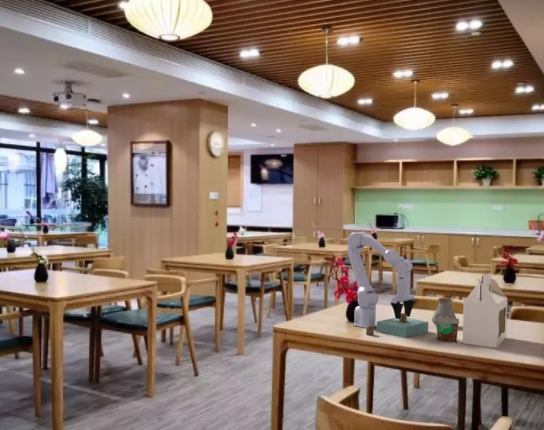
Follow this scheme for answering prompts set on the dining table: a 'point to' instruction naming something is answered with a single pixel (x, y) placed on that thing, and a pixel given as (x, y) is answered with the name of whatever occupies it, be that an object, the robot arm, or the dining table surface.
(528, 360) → the dining table surface
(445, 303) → the coffee pot
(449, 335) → the food container
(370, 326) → the short pin
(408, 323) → the hole plate
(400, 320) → the tall pin
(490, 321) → the gable box
